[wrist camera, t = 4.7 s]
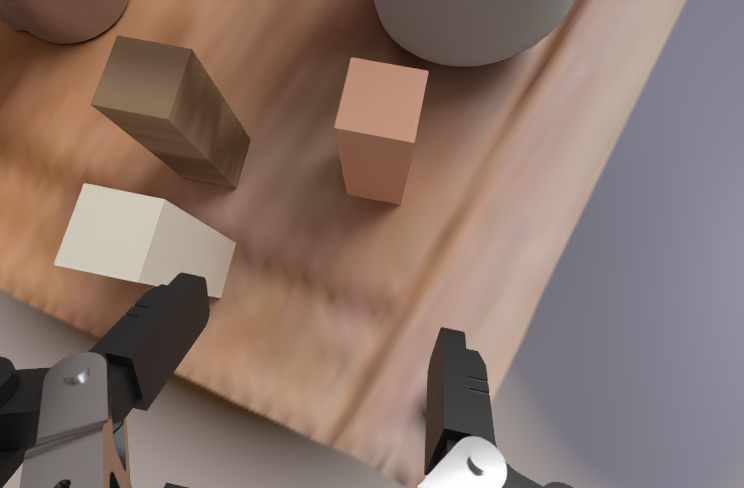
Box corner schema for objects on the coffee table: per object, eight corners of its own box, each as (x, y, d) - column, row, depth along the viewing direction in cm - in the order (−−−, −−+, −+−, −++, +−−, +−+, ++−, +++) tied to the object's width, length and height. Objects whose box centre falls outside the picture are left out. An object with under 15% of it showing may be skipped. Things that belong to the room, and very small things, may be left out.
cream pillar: (220, 298, 28) (137, 282, 18) (165, 286, 28) (53, 264, 18) (236, 243, 28) (164, 199, 19) (182, 232, 29) (84, 183, 19)
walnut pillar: (236, 188, 29) (168, 119, 20) (184, 178, 29) (90, 104, 20) (250, 139, 30) (191, 49, 20) (199, 129, 30) (117, 35, 20)
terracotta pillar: (400, 205, 29) (414, 142, 19) (346, 194, 29) (334, 127, 19) (410, 155, 30) (428, 71, 20) (358, 145, 30) (351, 57, 20)
